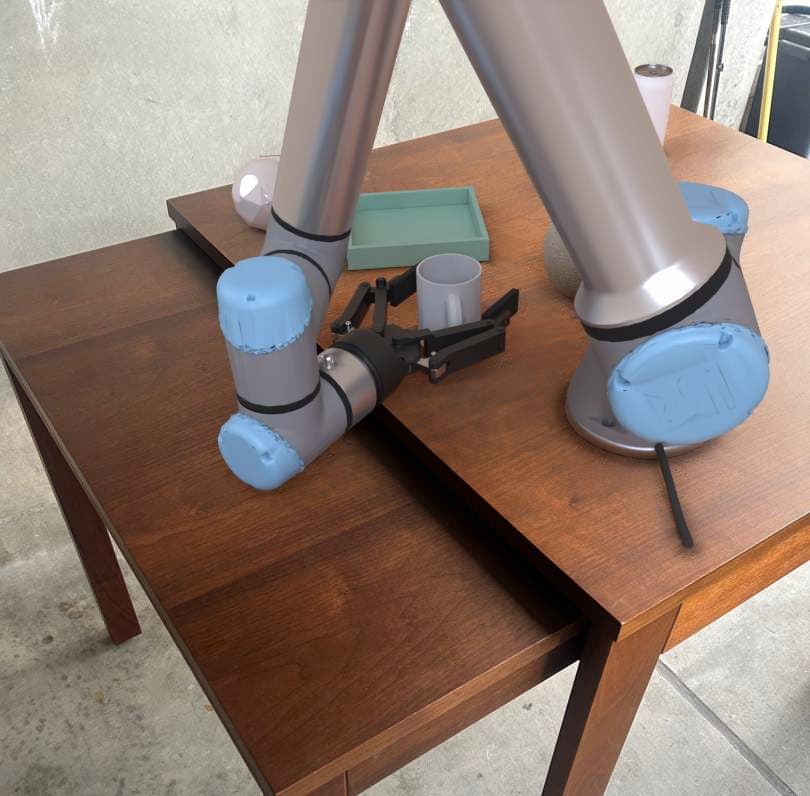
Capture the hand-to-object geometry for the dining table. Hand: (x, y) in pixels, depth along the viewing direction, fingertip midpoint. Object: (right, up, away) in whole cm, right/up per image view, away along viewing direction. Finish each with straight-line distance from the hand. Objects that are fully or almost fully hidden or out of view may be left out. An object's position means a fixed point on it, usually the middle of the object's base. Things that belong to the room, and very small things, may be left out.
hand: (469, 285), depth 98 cm
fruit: (+15, +2, +10) cm, 18 cm away
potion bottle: (-27, +18, +28) cm, 42 cm away
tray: (-6, +13, +22) cm, 26 cm away
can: (+30, +33, +39) cm, 59 cm away
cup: (-2, -7, +2) cm, 7 cm away
